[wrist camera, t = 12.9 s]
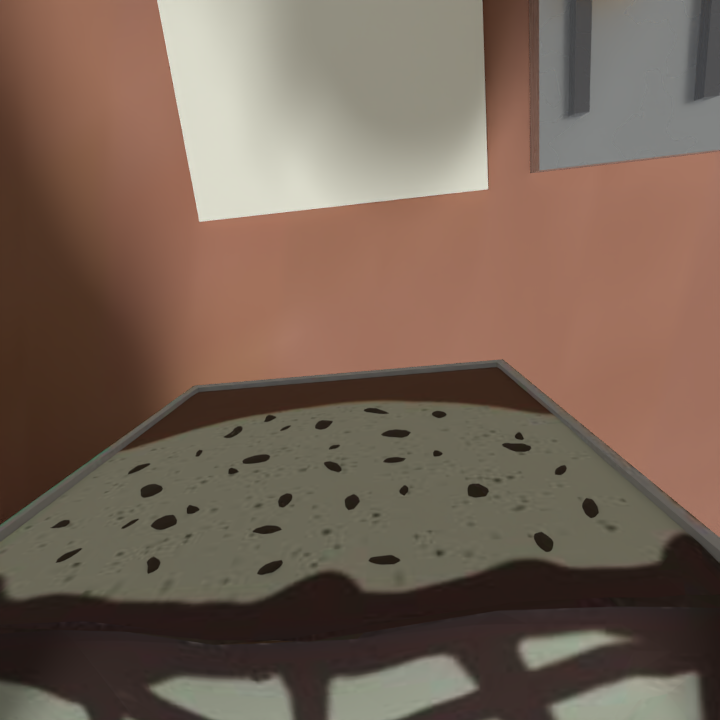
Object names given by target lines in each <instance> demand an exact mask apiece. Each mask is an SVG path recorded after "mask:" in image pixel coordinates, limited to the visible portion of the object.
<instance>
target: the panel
mask: <svg viewBox="0 0 720 720" xmlns="http://www.w3.org/2000/svg"><path fill="white" fill-rule="evenodd" d="M529 59H530V173H536V172H544V171H553V170H562V169H570V168H579V167H588V166H597V165H605V164H614V163H623V162H631V161H640V160H649V159H658V158H666V157H675V156H684V155H692V154H701V153H710V152H716V151H720V0H529Z"/></svg>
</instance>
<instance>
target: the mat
mask: <svg viewBox="0 0 720 720" xmlns="http://www.w3.org/2000/svg"><path fill="white" fill-rule="evenodd" d="M157 2H158V7H159V12H160V17H161V23H162V28H163V33H164V38H165V44H166V49H167V54H168V59H169V64H170V70H171V75H172V80H173V85H174V91H175V96H176V101H177V106H178V112H179V117H180V122H181V127H182V133H183V138H184V143H185V148H186V154H187V159H188V164H189V169H190V174H191V180H192V185H193V190H194V195H195V201H196V206H197V211H198V216H199V222H202V221H211V220H220V219H228V218H237V217H246V216H255V215H264V214H273V213H282V212H291V211H299V210H308V209H317V208H326V207H335V206H344V205H353V204H361V203H370V202H379V201H388V200H397V199H406V198H415V197H424V196H432V195H441V194H450V193H459V192H468V191H477V190H486V189H488V167H487V134H486V101H485V68H484V35H483V2H482V0H157Z"/></svg>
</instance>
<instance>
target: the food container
mask: <svg viewBox="0 0 720 720" xmlns="http://www.w3.org/2000/svg"><path fill="white" fill-rule="evenodd" d="M0 720H720V538H719V537H718V536H717V535H716V534H715V533H713V532H712V531H711V530H710V529H708V528H707V527H706V526H705V525H704V524H702V523H701V522H700V521H699V520H698V519H696V518H695V517H694V516H693V515H691V514H690V513H689V512H688V511H687V510H685V509H684V508H683V507H682V506H680V505H679V504H678V503H677V502H676V501H674V500H673V499H672V498H671V497H670V496H668V495H667V494H666V493H665V492H663V491H662V490H661V489H660V488H659V487H657V486H656V485H655V484H654V483H652V482H651V481H650V480H649V479H648V478H646V477H645V476H644V475H643V474H642V473H640V472H639V471H638V470H637V469H635V468H634V467H633V466H632V465H631V464H629V463H628V462H627V461H626V460H625V459H623V458H622V457H621V456H620V455H618V454H617V453H616V452H615V451H614V450H612V449H611V448H610V447H609V446H607V445H606V444H605V443H604V442H603V441H601V440H600V439H599V438H598V437H597V436H595V435H594V434H593V433H592V432H590V431H589V430H588V429H587V428H586V427H584V426H583V425H582V424H581V423H580V422H578V421H577V420H576V419H575V418H573V417H572V416H571V415H570V414H569V413H567V412H566V411H565V410H564V409H562V408H561V407H560V406H559V405H558V404H556V403H555V402H554V401H553V400H552V399H550V398H549V397H548V396H547V395H545V394H544V393H543V392H542V391H541V390H539V389H538V388H537V387H536V386H534V385H533V384H532V383H531V382H530V381H528V380H527V379H526V378H525V377H524V376H522V375H521V374H520V373H519V372H517V371H516V370H515V369H514V368H513V367H511V366H510V365H509V364H508V363H507V362H505V361H504V360H491V361H479V362H468V363H456V364H444V365H432V366H421V367H409V368H397V369H385V370H374V371H362V372H350V373H338V374H327V375H315V376H303V377H291V378H280V379H268V380H256V381H244V382H233V383H221V384H209V385H197V386H193V387H191V388H190V389H189V390H187V391H186V392H185V393H183V394H182V395H180V396H179V397H178V398H176V399H175V400H173V401H172V402H171V403H169V404H168V405H166V406H165V407H164V408H162V409H161V410H159V411H158V412H157V413H155V414H154V415H153V416H151V417H150V418H148V419H147V420H146V421H144V422H143V423H141V424H140V425H139V426H137V427H136V428H134V429H133V430H132V431H130V432H129V433H127V434H126V435H125V436H123V437H122V438H121V439H119V440H118V441H116V442H115V443H114V444H112V445H111V446H109V447H108V448H107V449H105V450H104V451H102V452H101V453H100V454H98V455H97V456H95V457H94V458H93V459H91V460H90V461H89V462H87V463H86V464H84V465H83V466H82V467H80V468H79V469H77V470H76V471H75V472H73V473H72V474H70V475H69V476H68V477H66V478H65V479H63V480H62V481H61V482H59V483H58V484H57V485H55V486H54V487H52V488H51V489H50V490H48V491H47V492H45V493H44V494H43V495H41V496H40V497H38V498H37V499H36V500H34V501H33V502H31V503H30V504H29V505H27V506H26V507H25V508H23V509H22V510H20V511H19V512H18V513H16V514H15V515H13V516H12V517H11V518H9V519H8V520H6V521H5V522H4V523H2V524H1V525H0Z"/></svg>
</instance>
